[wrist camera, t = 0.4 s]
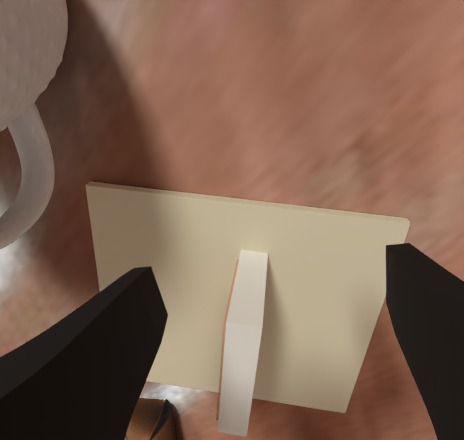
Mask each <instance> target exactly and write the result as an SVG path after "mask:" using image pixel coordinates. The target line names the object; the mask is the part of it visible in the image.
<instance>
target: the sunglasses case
mask: <svg viewBox="0 0 464 440" xmlns="http://www.w3.org/2000/svg"><path fill="white" fill-rule="evenodd" d="M124 440H177V438H176V429H175V423H174V418H173V413H172V410H171V408H170V406H169V404H168V401H167V399H166V400H159V399H146V398H139V399H138V401H137V404H136V406H135V409H134V412H133V414H132V417H131V420H130V423H129V426H128V429H127V432H126V436H125V439H124Z"/></svg>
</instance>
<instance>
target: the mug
mask: <svg viewBox="0 0 464 440" xmlns="http://www.w3.org/2000/svg"><path fill="white" fill-rule="evenodd" d="M67 32H68V13H67V5H66V0H0V132H1V131H3V130H4V129H6V127H8V129H9V131H10V133H11V135H12V137H13V140H14V143H15V146H16V149H17V152H18V155H19V158H20V163H21V171H22V178H21V185H20V189H19V192H18V194H17V197H16V199H15V200H14V202H13V204H12V205H11V206H10V208H9V209H8V210H7V211H6V212H5V213H4V214H3V215H2V216H1V217H0V249H2V248H4V247H6V246H7V245H9V244H11V243H12V242H14V241H15V240H17V239H18V238H20V237H21V236H22V235H23V234H24V233H25V232H27V231H28V230H29V229H30V228H31V227H32V226H33V225H34V224H35V223H36V221H37V220H38V219H39V218H40V216H41V215H42V214H43V212H44V210H45V209H46V207H47V205H48V203H49V201H50V198H51V195H52V192H53V188H54V182H55V170H54V160H53V155H52V150H51V146H50V143H49V138H48V135H47V132H46V130H45V127H44V124H43V122H42V119H41V116H40V114H39V111H38V109H37V107H36V104H35V101H36V100H37V98H38V96H39V95H40V94H41V93H42V92H43V91H45V90H46V88H47V86H48V84H49V82H50V81H51V80H52V79H53V78H54V76H55V74H56V70H57V68H58V66H59V65H60V63H61V62H62V58H63V52H64V48H65V44H66V39H67Z"/></svg>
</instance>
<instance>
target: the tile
mask: <svg viewBox="0 0 464 440" xmlns="http://www.w3.org/2000/svg"><path fill="white" fill-rule="evenodd" d="M267 261H268V253H260V252H253V251H245V250H241V252H240V257H239V259H237V262H236V267H235V271H234V276H233V281H232V285H231V290H230V295H229V300H228V304H227V309H226V314H225V318H224V325H223V338H222V351H221V365H220V378H219V391H218V404H217V418H216V420H218V431H217V432H220V433H226V434H232V435H238V436H244V437H247V431H248V424H249V417H250V410H251V403H252V396H253V389H254V382H255V375H256V368H257V362H258V355H259V348H260V341H261V334H262V326H263V313H264V300H265V287H266V274H267Z"/></svg>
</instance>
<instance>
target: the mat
mask: <svg viewBox="0 0 464 440" xmlns="http://www.w3.org/2000/svg"><path fill="white" fill-rule="evenodd" d="M85 186H86V193H87V201H88V208H89V216H90V223H91V230H92V238H93V245H94V253H95V260H96V267H97V275H98V282H99V290H100V292H101V291H102V290H103V289H105V288H106V287H107V286H109V285H110V284H111V283H113V282H114V281H115V280H117V279H118V278H119V277H121V276H122V275H124V274H125V273H127V272H128V271H130V270H131V269H133V268H138V267H149V266H151V267H152V270H153V273H154V276H155V279H156V282H157V284H158V287H159V290H160V293H161V296H162V299H163V302H164V304H165V307H166V310H167V313H168V318H167V322H166V326H165V331H164V334H163V338H162V342H161V345H160V347H159V350H158V352H157V355H156V357H155V360H154V362H153V365H152V367H151V370H150V372H149V375H148V377H147V380H146V381H150V382H156V383H162V384H168V385H174V386H180V387H186V388H192V389H199V390H205V391H211V392H217V393H218V391H219V378H220V365H221V351H222V338H223V325H224V318H225V314H226V309H227V304H228V300H229V295H230V290H231V285H232V281H233V276H234V271H235V267H236V262H237V259H239V257H240V252H241V250H245V251H253V252H260V253H268V261H267V274H266V287H265V300H264V313H263V326H262V334H261V341H260V348H259V355H258V362H257V368H256V375H255V382H254V389H253V396H252V398H254V399H260V400H266V401H272V402H278V403H284V404H291V405H297V406H303V407H309V408H315V409H321V410H327V411H334V412H340V413H345V412H346V409H347V407H348V404H349V401H350V398H351V395H352V392H353V389H354V386H355V383H356V380H357V377H358V375H359V372H360V369H361V366H362V363H363V360H364V357H365V354H366V351H367V348H368V345H369V343H370V340H371V337H372V334H373V331H374V328H375V325H376V322H377V319H378V316H379V313H380V310H381V308H382V305H383V302H384V299H385V296H386V245H394V244H404V241H405V238H406V235H407V232H408V229H409V226H410V222H409V220H408V219H407V218H401V217H392V216H384V215H375V214H366V213H358V212H349V211H341V210H332V209H323V208H315V207H306V206H297V205H289V204H280V203H272V202H263V201H254V200H246V199H237V198H228V197H220V196H211V195H202V194H194V193H185V192H177V191H168V190H159V189H151V188H142V187H133V186H125V185H116V184H107V183H99V182H89V183H88V184H86V185H85Z"/></svg>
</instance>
